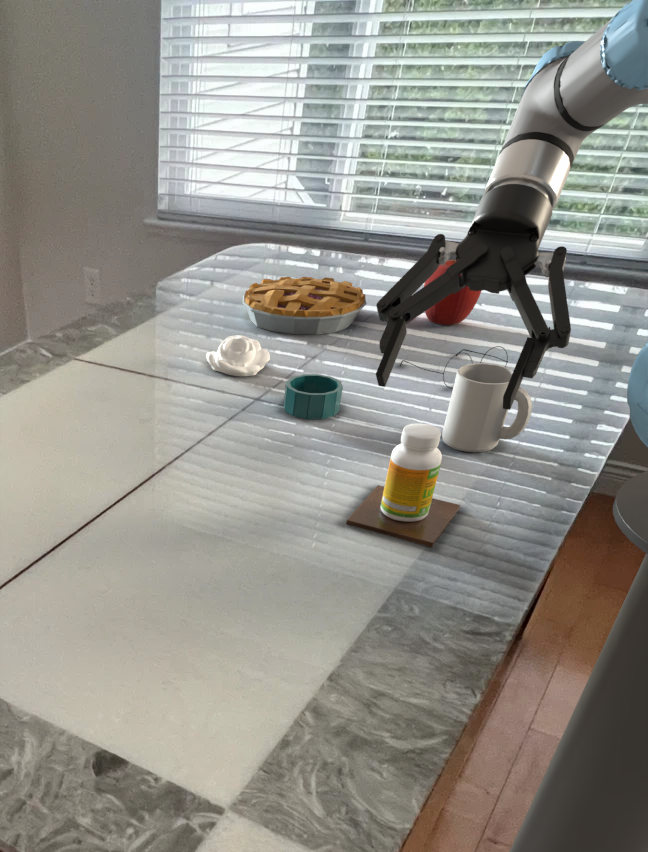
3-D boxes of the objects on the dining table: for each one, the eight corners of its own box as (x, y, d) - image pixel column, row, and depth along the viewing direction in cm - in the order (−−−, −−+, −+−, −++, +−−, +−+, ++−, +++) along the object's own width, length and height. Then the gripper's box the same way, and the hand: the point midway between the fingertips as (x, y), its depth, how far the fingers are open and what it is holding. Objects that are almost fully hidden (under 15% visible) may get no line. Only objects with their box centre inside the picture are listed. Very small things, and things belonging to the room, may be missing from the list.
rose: (268, 326, 135) (275, 347, 128) (265, 354, 138) (272, 376, 131) (206, 327, 136) (209, 348, 129) (204, 356, 139) (208, 378, 132)
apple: (471, 315, 150) (486, 253, 143) (475, 333, 143) (491, 268, 136) (416, 313, 152) (428, 251, 145) (417, 330, 145) (430, 266, 138)
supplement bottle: (423, 526, 95) (444, 444, 88) (375, 518, 96) (392, 436, 90) (431, 505, 98) (451, 424, 92) (384, 497, 100) (401, 417, 94)
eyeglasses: (393, 366, 133) (400, 333, 129) (461, 355, 135) (469, 322, 132) (436, 392, 125) (445, 357, 121) (507, 379, 127) (517, 344, 124)
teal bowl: (346, 404, 122) (350, 380, 120) (325, 423, 118) (329, 398, 115) (297, 394, 126) (300, 370, 123) (274, 412, 121) (277, 388, 119)
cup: (450, 426, 116) (466, 359, 110) (526, 441, 111) (547, 373, 105) (433, 445, 111) (450, 377, 105) (511, 462, 107) (533, 392, 101)
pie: (229, 332, 147) (231, 302, 143) (253, 296, 162) (255, 267, 159) (357, 342, 141) (362, 310, 138) (369, 303, 156) (374, 274, 153)
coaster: (459, 509, 99) (460, 504, 98) (432, 547, 93) (433, 542, 92) (377, 489, 103) (377, 484, 102) (345, 524, 97) (346, 519, 96)
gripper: (640, 238, 88) (561, 429, 89) (405, 216, 99) (337, 387, 99) (652, 189, 81) (567, 396, 82) (399, 171, 92) (326, 355, 93)
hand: (441, 392), depth 91 cm, fingers open, 13 cm apart
